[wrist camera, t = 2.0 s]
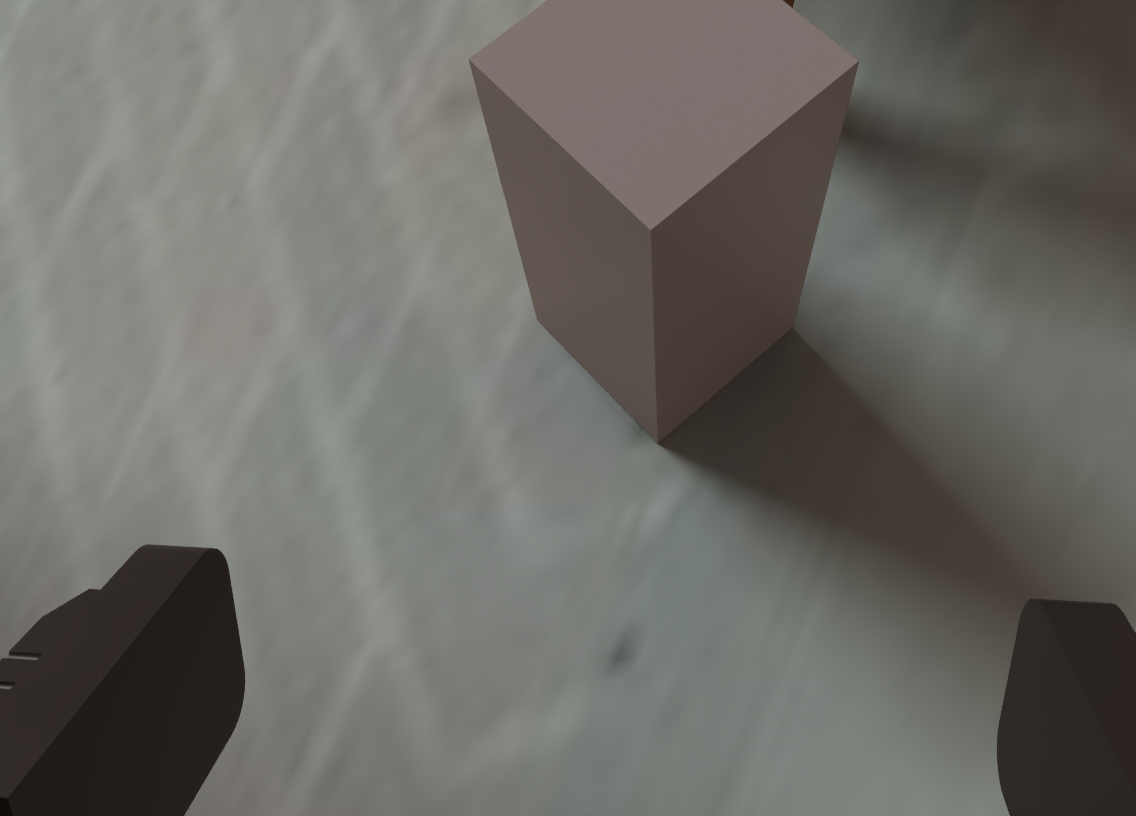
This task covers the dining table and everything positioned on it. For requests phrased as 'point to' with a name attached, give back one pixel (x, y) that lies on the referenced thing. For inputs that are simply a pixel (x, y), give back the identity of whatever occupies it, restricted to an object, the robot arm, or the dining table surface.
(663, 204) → the stone
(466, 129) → the dining table surface
